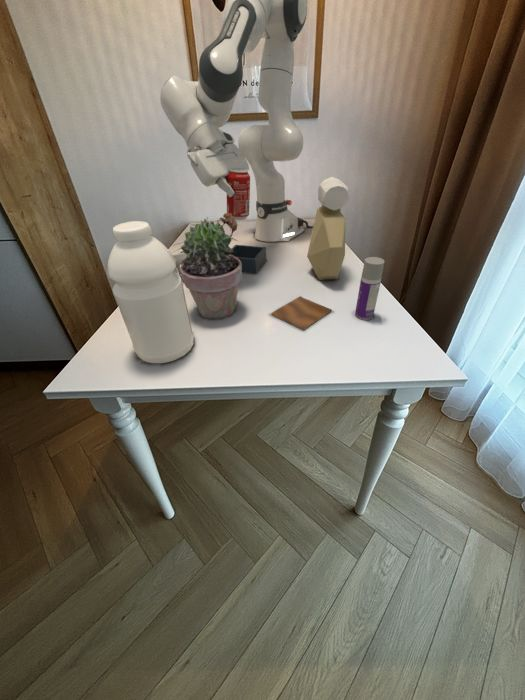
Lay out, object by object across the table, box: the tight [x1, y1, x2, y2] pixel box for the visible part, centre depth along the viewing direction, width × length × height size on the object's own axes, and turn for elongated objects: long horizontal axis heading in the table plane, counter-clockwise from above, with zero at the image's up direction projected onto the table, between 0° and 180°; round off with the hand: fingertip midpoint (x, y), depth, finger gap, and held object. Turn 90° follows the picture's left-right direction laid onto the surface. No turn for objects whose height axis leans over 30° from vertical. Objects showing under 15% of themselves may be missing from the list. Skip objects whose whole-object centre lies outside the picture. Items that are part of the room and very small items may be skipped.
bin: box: [229, 244, 267, 275], centre depth 109 cm, size 12×12×5 cm
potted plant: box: [171, 212, 245, 320], centre depth 79 cm, size 18×20×25 cm
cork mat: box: [271, 296, 332, 331], centre depth 84 cm, size 12×11×1 cm
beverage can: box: [226, 168, 251, 221], centre depth 85 cm, size 6×6×12 cm
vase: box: [306, 176, 349, 281], centre depth 94 cm, size 12×24×28 cm, turn 1°
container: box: [354, 256, 386, 321], centre depth 77 cm, size 5×5×15 cm
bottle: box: [106, 220, 195, 364], centre depth 66 cm, size 14×14×28 cm
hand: (240, 192), depth 84 cm, fingers closed on beverage can, 6 cm apart
